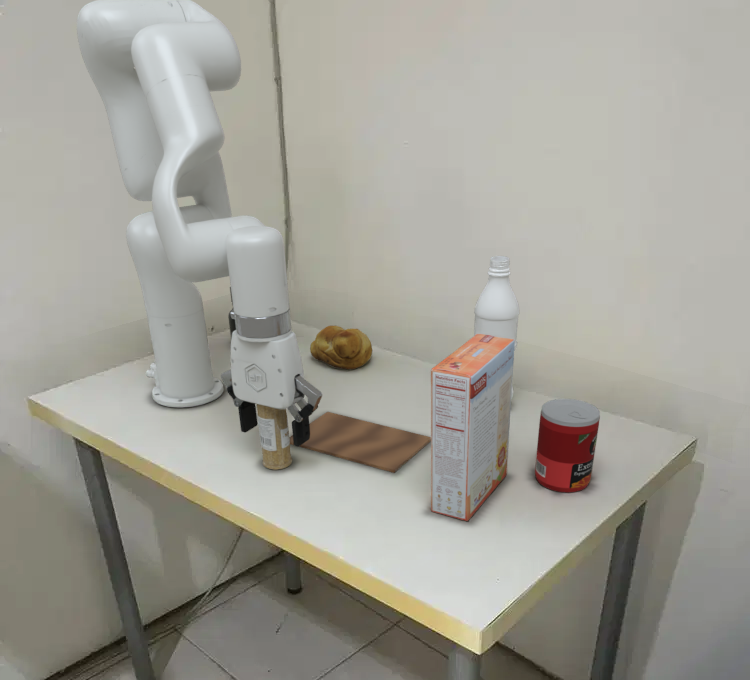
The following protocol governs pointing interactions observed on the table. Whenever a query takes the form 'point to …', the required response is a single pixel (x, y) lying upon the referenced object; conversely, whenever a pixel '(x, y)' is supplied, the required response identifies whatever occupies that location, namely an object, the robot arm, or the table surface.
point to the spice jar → (274, 437)
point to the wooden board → (363, 441)
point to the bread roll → (341, 347)
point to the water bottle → (497, 304)
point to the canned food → (566, 444)
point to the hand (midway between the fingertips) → (275, 435)
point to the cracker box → (470, 424)
